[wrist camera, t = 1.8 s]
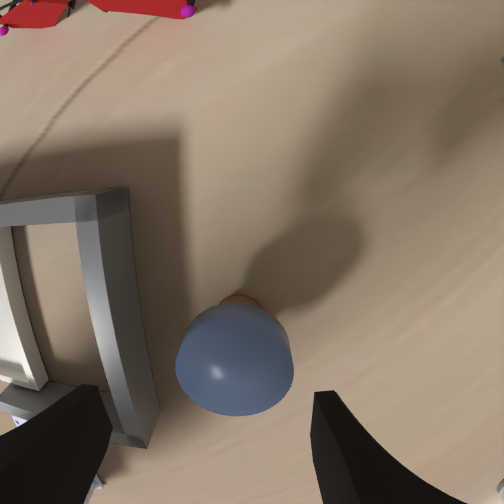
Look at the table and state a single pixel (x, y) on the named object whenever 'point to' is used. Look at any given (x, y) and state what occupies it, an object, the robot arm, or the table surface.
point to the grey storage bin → (98, 308)
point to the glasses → (51, 7)
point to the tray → (16, 325)
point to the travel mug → (501, 489)
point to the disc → (235, 360)
